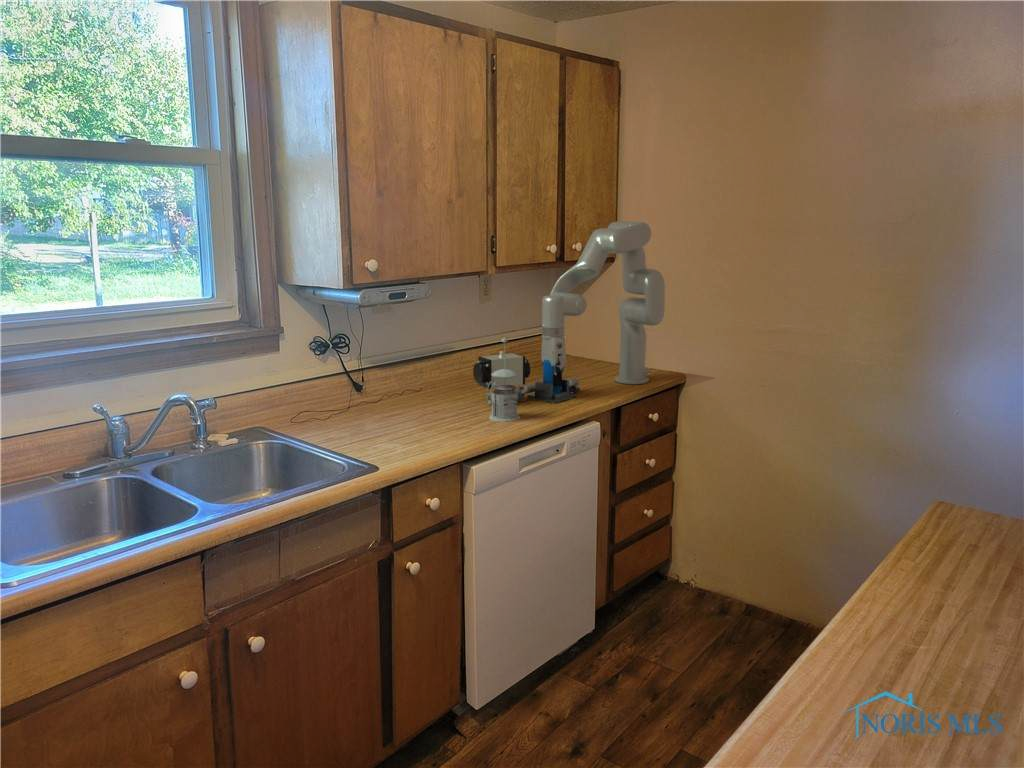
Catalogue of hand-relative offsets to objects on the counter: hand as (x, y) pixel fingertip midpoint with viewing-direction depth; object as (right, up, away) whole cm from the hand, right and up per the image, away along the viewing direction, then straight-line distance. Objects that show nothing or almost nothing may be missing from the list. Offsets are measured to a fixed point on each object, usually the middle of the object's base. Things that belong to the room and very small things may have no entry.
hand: (552, 383), depth 260 cm
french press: (-17, -11, -25) cm, 32 cm away
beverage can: (0, -3, +1) cm, 3 cm away
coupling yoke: (-1, -5, +2) cm, 5 cm away
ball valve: (-18, -7, -7) cm, 20 cm away
